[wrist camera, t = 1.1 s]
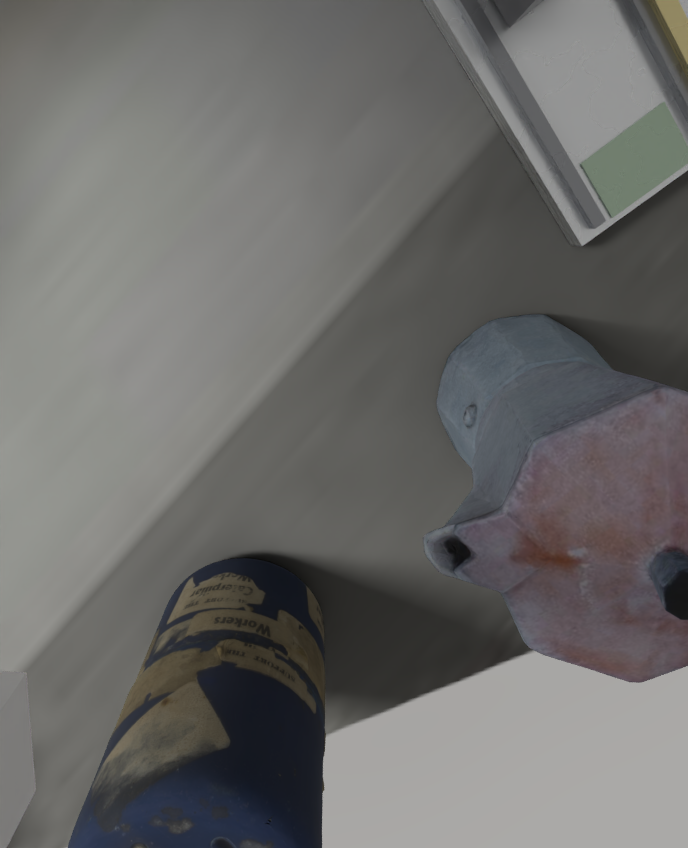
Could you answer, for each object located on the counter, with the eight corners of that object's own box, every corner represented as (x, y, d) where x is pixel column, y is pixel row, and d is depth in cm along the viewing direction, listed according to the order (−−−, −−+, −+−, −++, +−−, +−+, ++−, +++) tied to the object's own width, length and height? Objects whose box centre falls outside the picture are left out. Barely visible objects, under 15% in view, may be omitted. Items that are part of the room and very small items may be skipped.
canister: (300, 529, 37) (275, 796, 20) (343, 661, 40) (355, 994, 23) (144, 570, 38) (-10, 863, 20) (198, 696, 40) (102, 1048, 23)
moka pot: (371, 323, 33) (428, 458, 14) (665, 281, 33) (1121, 362, 14) (392, 488, 36) (462, 784, 17) (662, 451, 36) (1038, 711, 17)
